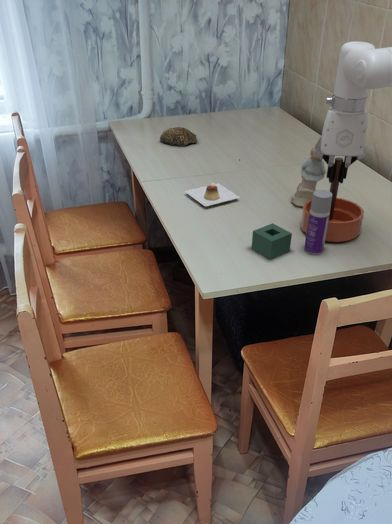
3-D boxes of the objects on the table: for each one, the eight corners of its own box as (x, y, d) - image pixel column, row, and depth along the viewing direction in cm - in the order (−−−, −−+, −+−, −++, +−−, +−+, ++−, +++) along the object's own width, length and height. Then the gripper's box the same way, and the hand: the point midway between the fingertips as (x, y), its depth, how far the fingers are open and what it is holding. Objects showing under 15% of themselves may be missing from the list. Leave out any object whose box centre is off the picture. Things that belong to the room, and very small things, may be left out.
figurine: (319, 210, 154) (331, 138, 141) (289, 207, 156) (298, 135, 143) (321, 197, 161) (332, 127, 148) (292, 194, 162) (301, 125, 149)
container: (302, 253, 135) (311, 196, 125) (305, 244, 138) (314, 188, 129) (321, 256, 134) (331, 199, 124) (324, 247, 137) (334, 191, 128)
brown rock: (155, 141, 197) (154, 127, 194) (178, 132, 204) (177, 119, 201) (181, 149, 191) (181, 135, 188) (204, 140, 198) (204, 126, 195)
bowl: (371, 232, 144) (376, 211, 140) (332, 250, 136) (336, 228, 132) (326, 212, 153) (330, 192, 149) (288, 227, 146) (291, 206, 142)
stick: (334, 219, 143) (345, 159, 133) (329, 221, 142) (339, 161, 132) (328, 216, 145) (338, 156, 134) (323, 218, 144) (333, 158, 133)
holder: (289, 251, 136) (292, 233, 133) (270, 259, 133) (272, 241, 129) (270, 240, 140) (272, 223, 137) (251, 248, 137) (252, 230, 134)
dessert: (204, 210, 154) (205, 193, 151) (183, 194, 162) (183, 179, 158) (239, 201, 158) (240, 185, 155) (217, 186, 166) (218, 171, 163)
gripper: (314, 107, 123) (304, 185, 135) (386, 109, 121) (369, 188, 133) (313, 97, 129) (303, 173, 140) (381, 100, 127) (365, 176, 139)
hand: (335, 180), depth 137 cm, fingers closed on stick, 2 cm apart
